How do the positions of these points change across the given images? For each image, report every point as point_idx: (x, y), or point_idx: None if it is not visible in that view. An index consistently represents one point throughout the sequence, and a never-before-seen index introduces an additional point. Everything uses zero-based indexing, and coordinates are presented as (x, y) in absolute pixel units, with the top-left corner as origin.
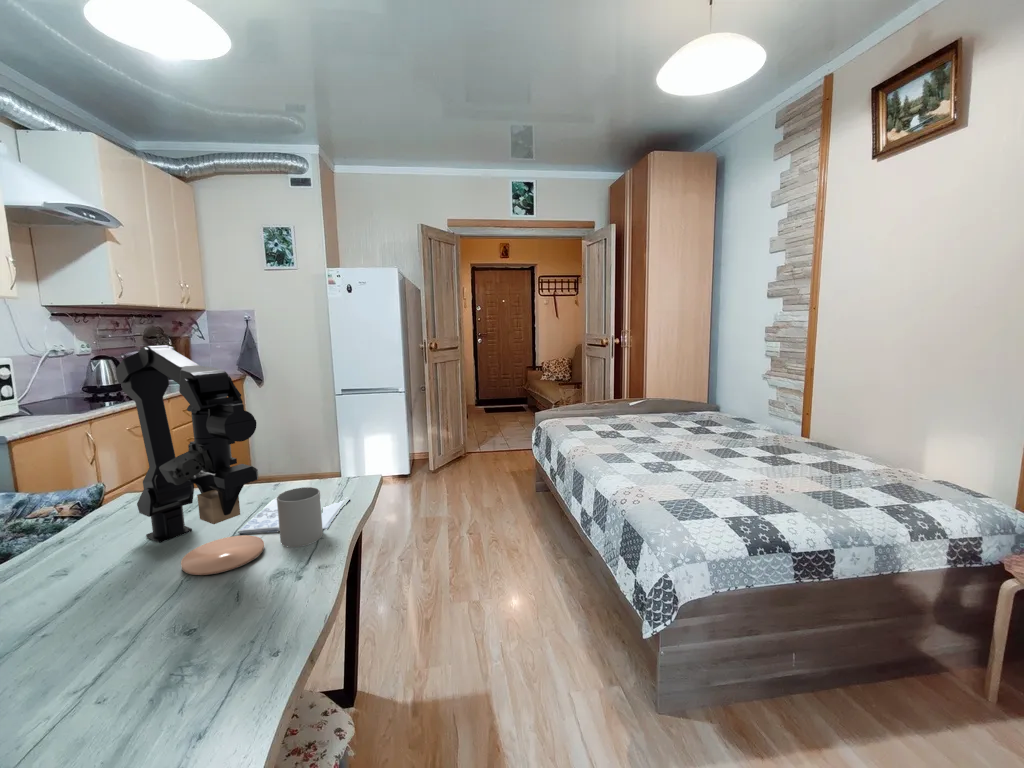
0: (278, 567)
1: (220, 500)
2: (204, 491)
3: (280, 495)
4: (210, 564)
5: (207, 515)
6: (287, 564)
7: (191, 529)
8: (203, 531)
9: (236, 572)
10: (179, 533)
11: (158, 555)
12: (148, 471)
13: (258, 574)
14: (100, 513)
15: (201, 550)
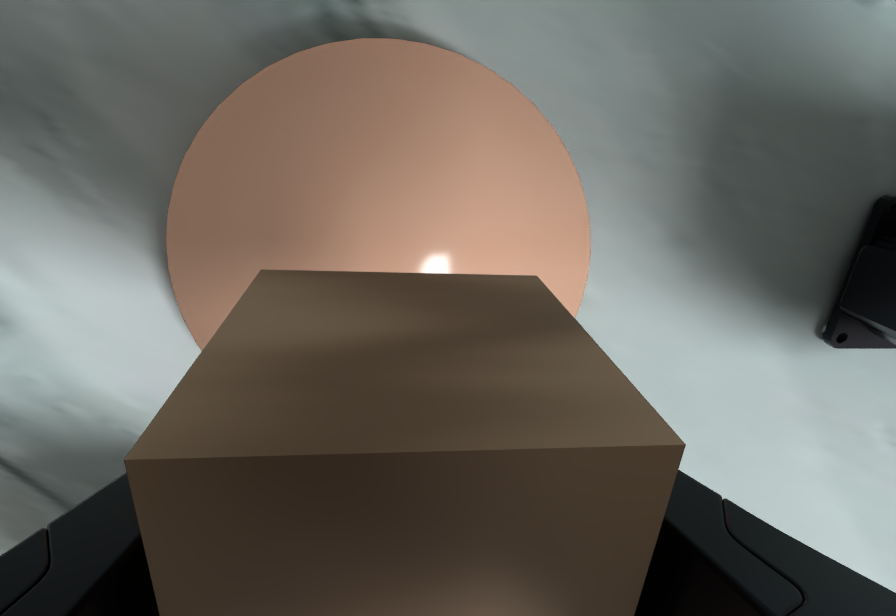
0: (21, 334)
1: (120, 527)
2: (686, 562)
3: None
4: (301, 145)
5: (376, 301)
6: (16, 372)
7: (831, 342)
8: (768, 365)
9: (166, 201)
10: (849, 287)
11: (770, 115)
12: None
13: (30, 243)
14: None
15: (529, 222)
